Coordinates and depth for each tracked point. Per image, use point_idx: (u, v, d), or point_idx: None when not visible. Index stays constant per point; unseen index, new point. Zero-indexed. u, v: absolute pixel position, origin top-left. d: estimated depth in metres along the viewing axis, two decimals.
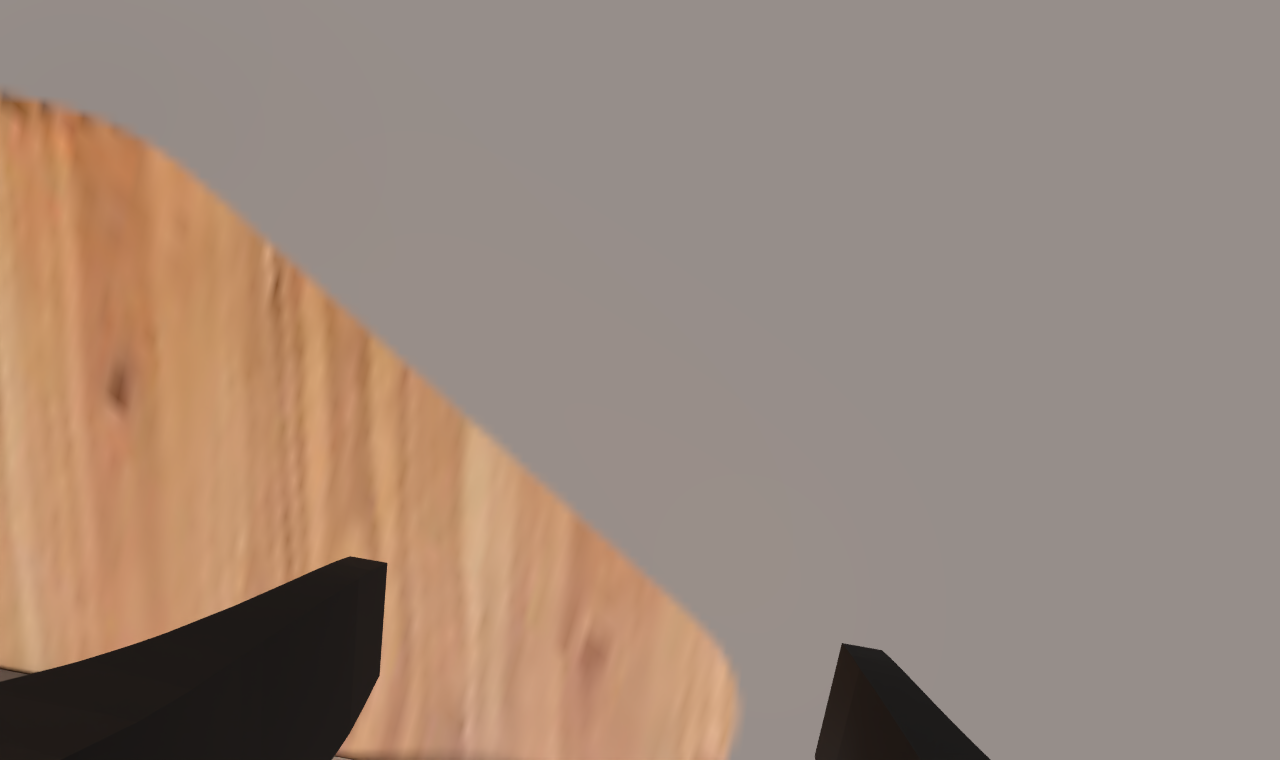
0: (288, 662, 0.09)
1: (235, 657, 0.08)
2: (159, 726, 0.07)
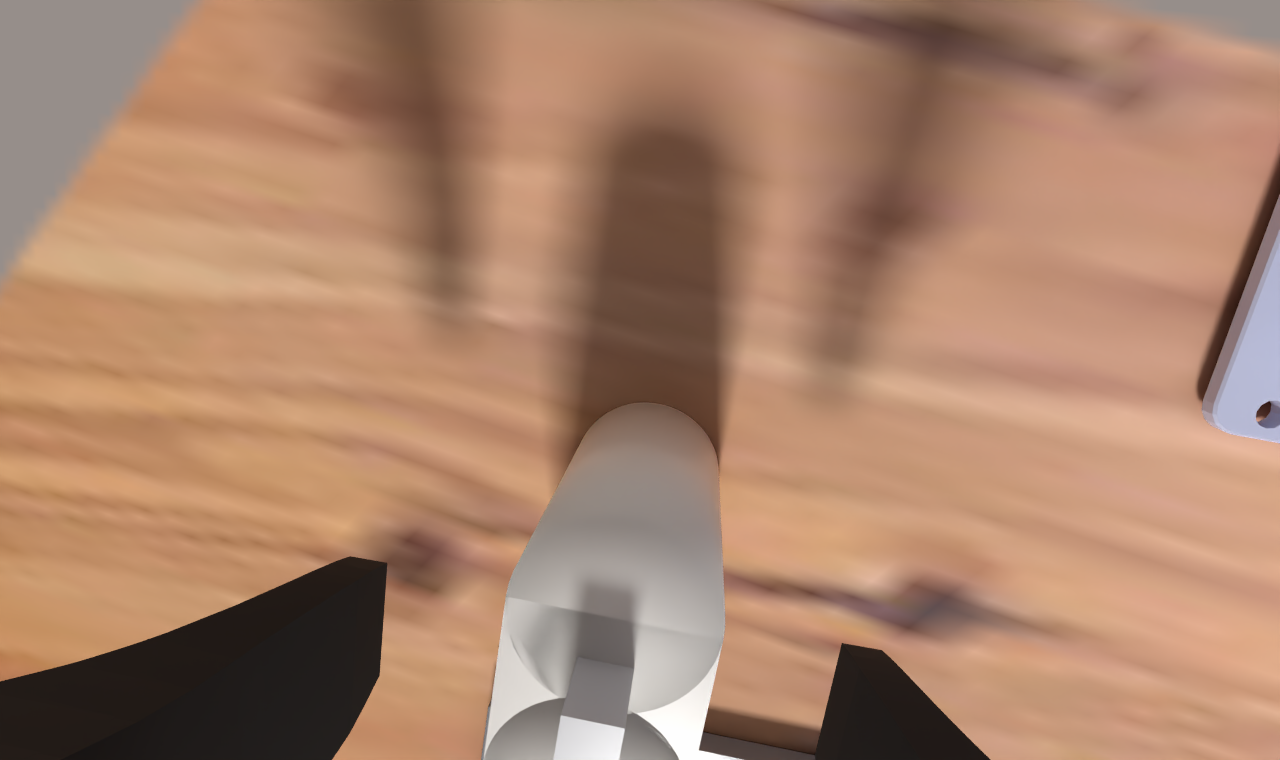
0: (288, 662, 0.09)
1: (235, 657, 0.08)
2: (159, 726, 0.07)
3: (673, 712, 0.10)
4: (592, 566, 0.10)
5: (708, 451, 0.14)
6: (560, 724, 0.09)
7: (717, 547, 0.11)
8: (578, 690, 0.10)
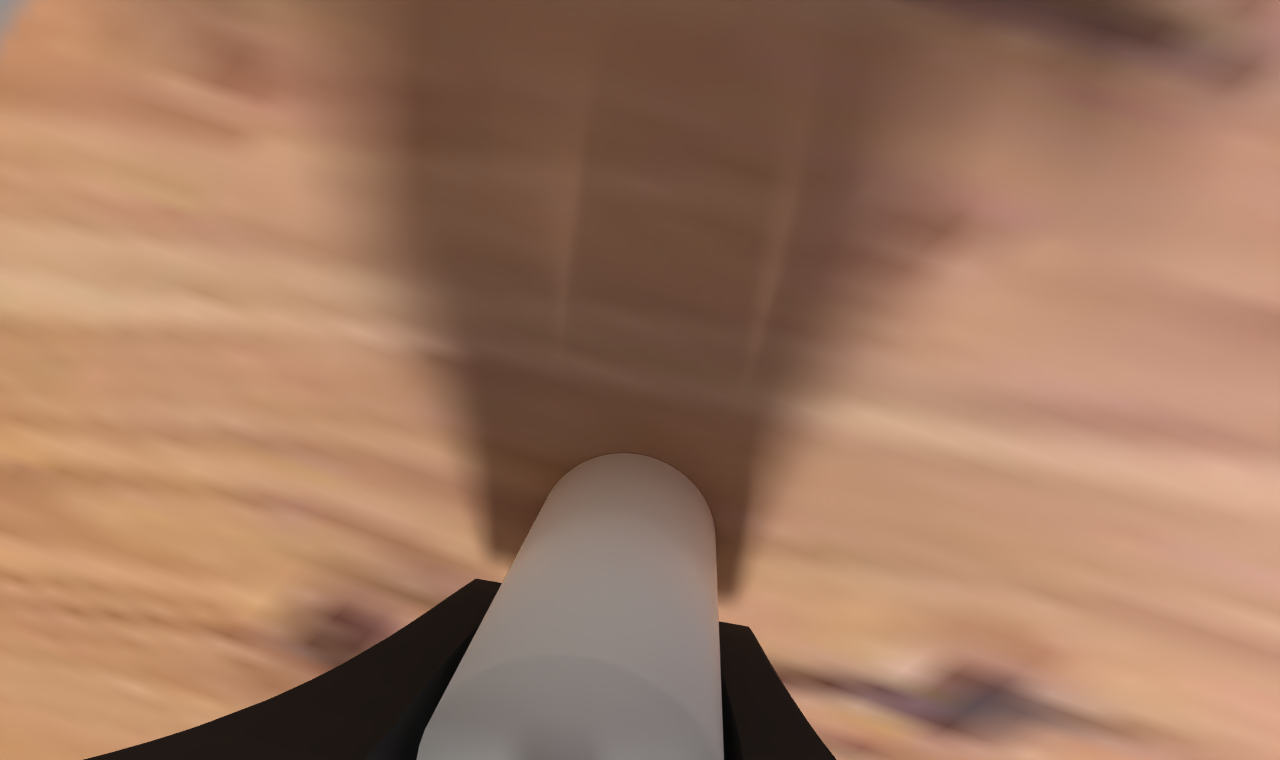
0: None
1: (416, 690, 0.08)
2: None
3: None
4: (536, 723, 0.07)
5: (702, 518, 0.11)
6: None
7: (714, 677, 0.08)
8: None
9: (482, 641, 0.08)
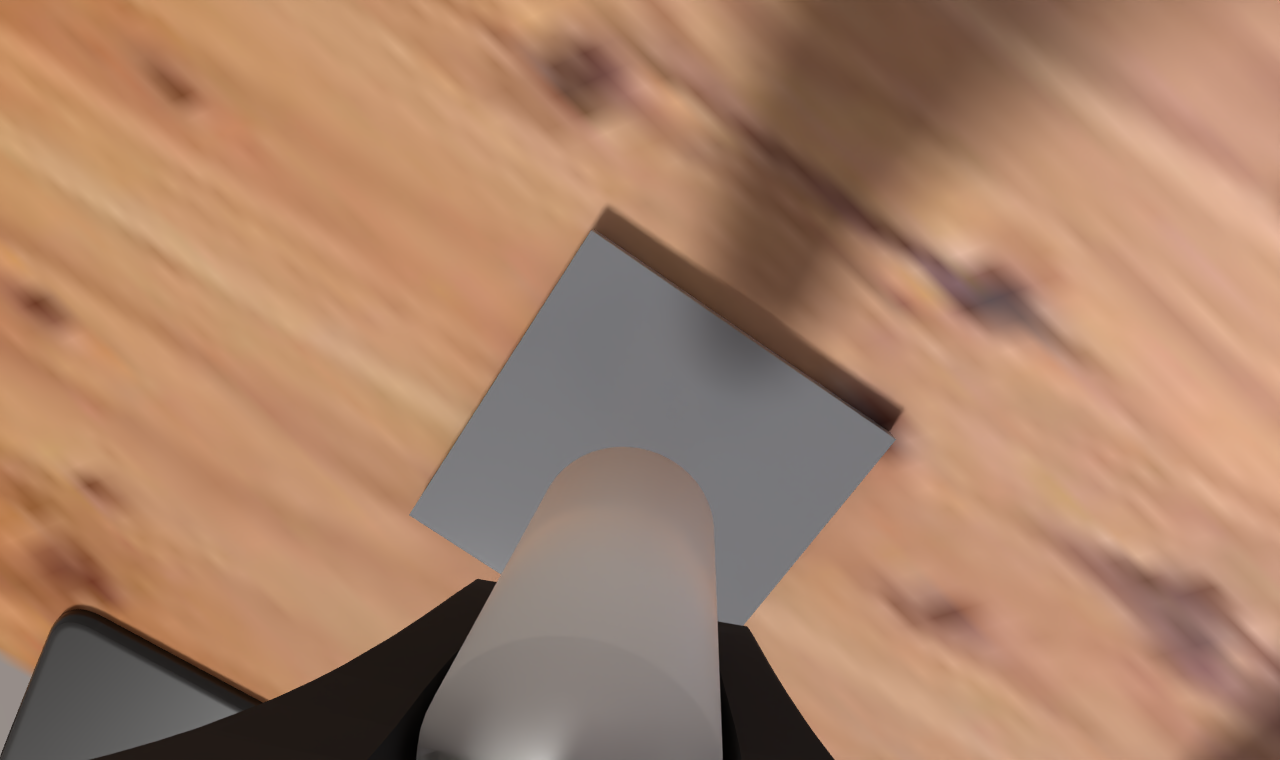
0: None
1: (418, 691, 0.08)
2: None
3: None
4: (535, 705, 0.07)
5: (700, 508, 0.11)
6: None
7: (711, 659, 0.08)
8: None
9: (481, 627, 0.08)
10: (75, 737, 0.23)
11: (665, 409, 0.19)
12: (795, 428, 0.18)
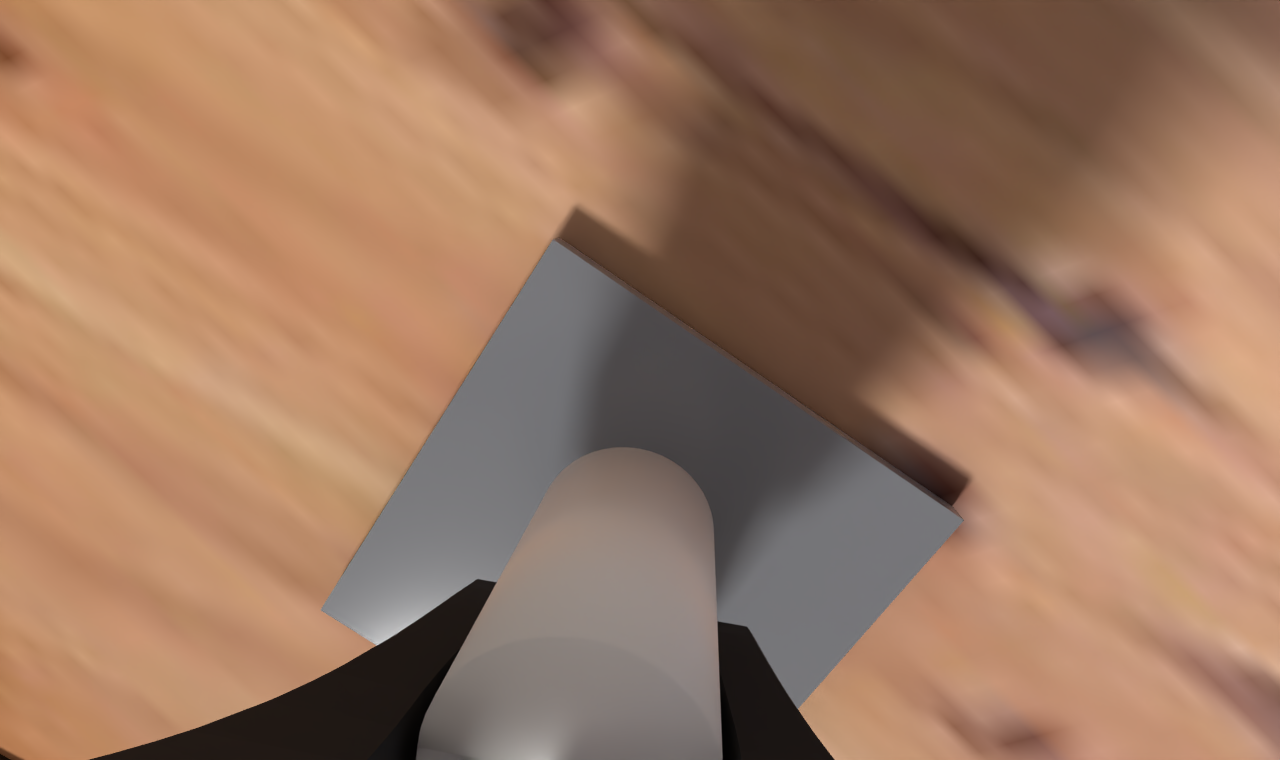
0: None
1: (418, 691, 0.08)
2: None
3: None
4: (535, 706, 0.07)
5: (700, 509, 0.11)
6: None
7: (711, 660, 0.08)
8: None
9: (480, 627, 0.08)
10: None
11: None
12: (828, 503, 0.14)
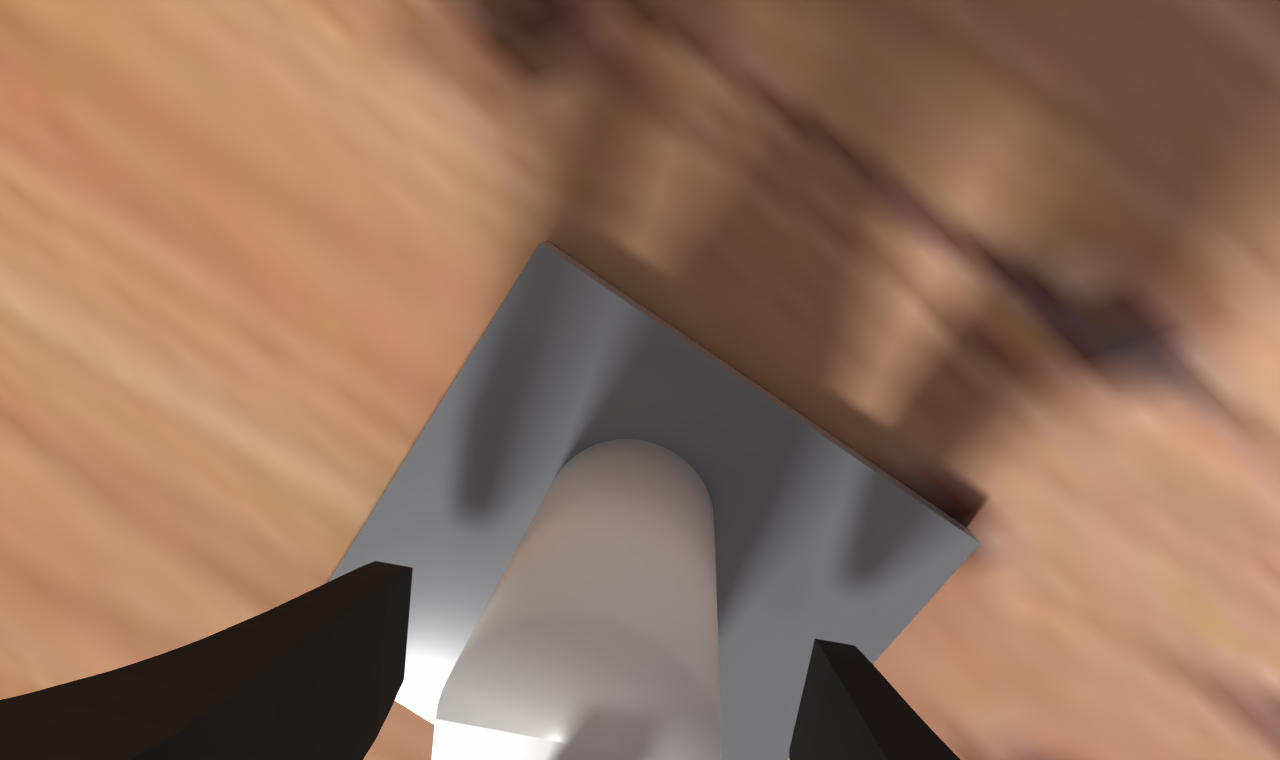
0: (321, 668, 0.09)
1: (272, 664, 0.08)
2: (202, 734, 0.07)
3: None
4: (546, 679, 0.08)
5: (700, 498, 0.12)
6: None
7: (711, 638, 0.09)
8: None
9: (494, 608, 0.08)
10: None
11: None
12: (835, 525, 0.13)
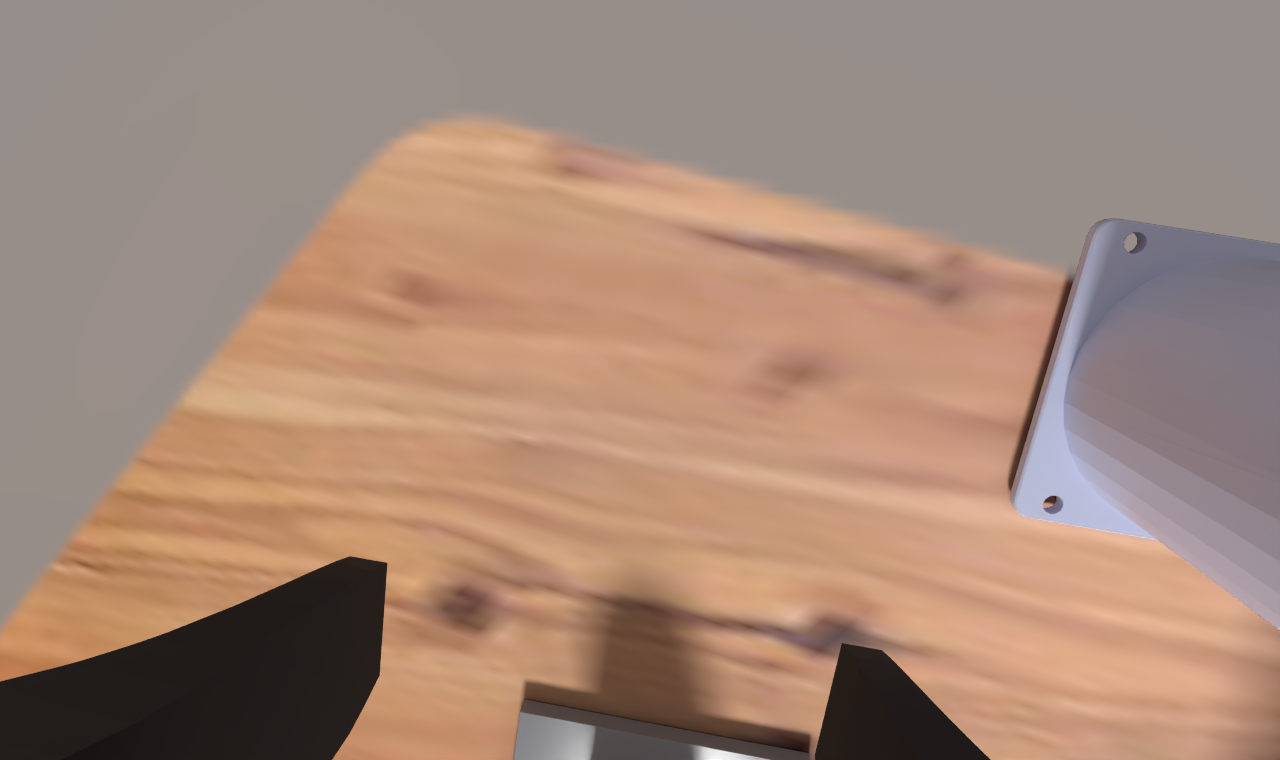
0: (288, 662, 0.09)
1: (235, 657, 0.08)
2: (159, 727, 0.07)
3: None
4: None
5: None
6: None
7: None
8: None
9: None
10: None
11: None
12: None
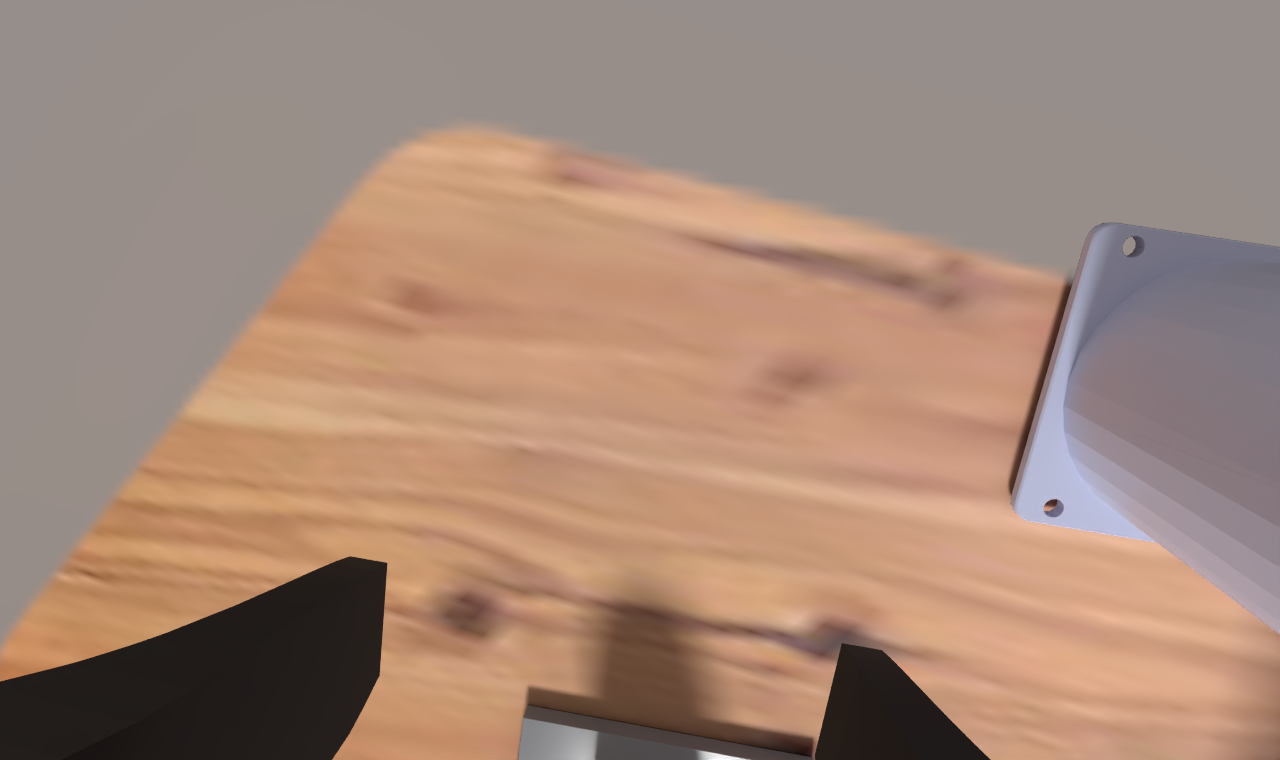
0: (288, 662, 0.09)
1: (235, 657, 0.08)
2: (159, 726, 0.07)
3: None
4: None
5: None
6: None
7: None
8: None
9: None
10: None
11: None
12: None
